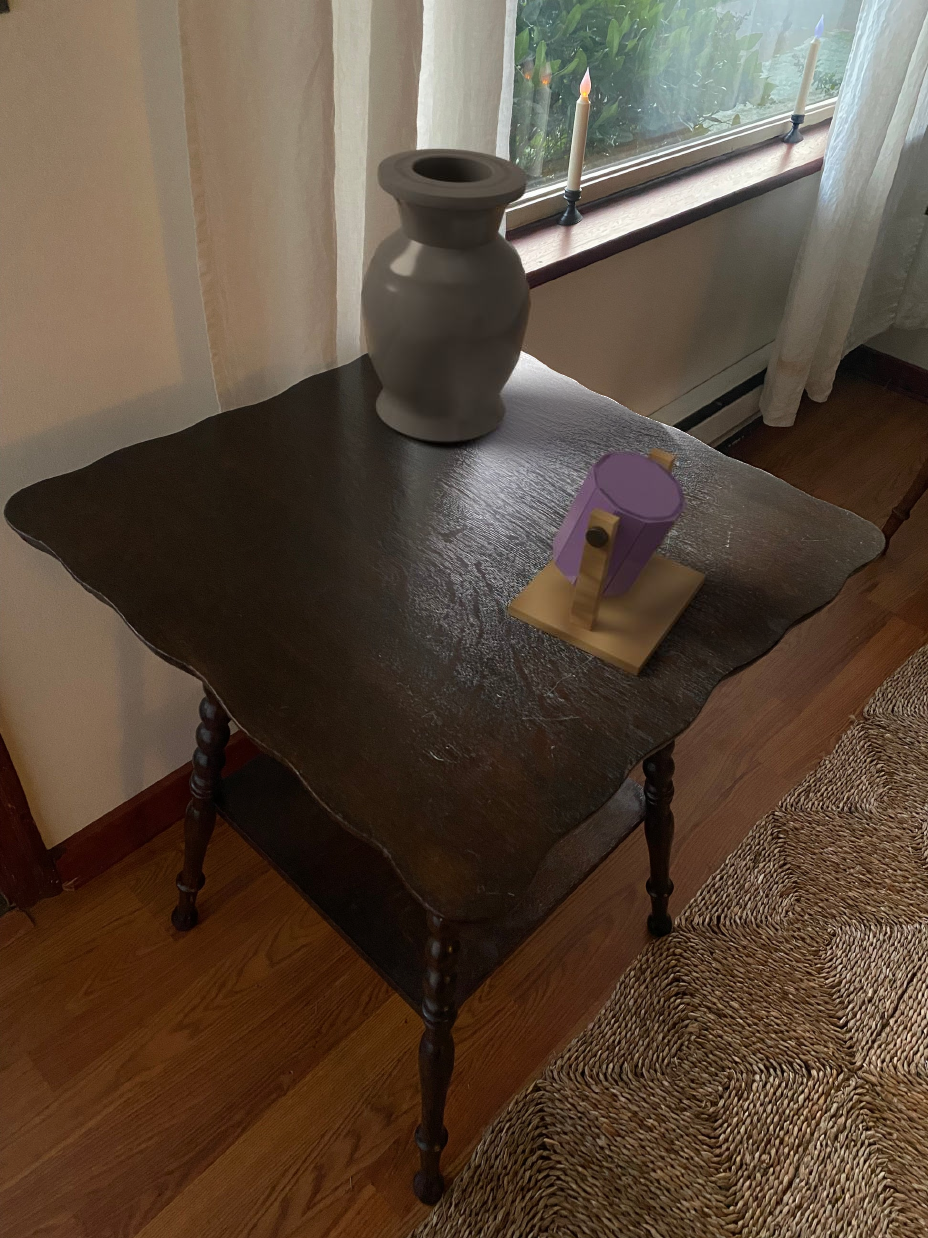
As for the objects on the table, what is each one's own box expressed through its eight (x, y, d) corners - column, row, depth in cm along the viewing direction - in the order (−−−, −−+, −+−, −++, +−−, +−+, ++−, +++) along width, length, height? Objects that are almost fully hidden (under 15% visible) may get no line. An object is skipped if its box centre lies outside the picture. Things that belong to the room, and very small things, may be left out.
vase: (348, 383, 101) (341, 142, 84) (488, 369, 106) (509, 137, 88) (384, 464, 90) (384, 205, 73) (539, 445, 94) (574, 196, 77)
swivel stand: (703, 583, 80) (740, 470, 71) (636, 676, 71) (670, 559, 63) (584, 532, 84) (606, 419, 76) (507, 613, 75) (522, 497, 67)
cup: (624, 433, 73) (583, 510, 79) (571, 484, 67) (532, 562, 74) (702, 486, 71) (654, 559, 78) (656, 542, 66) (608, 616, 72)
